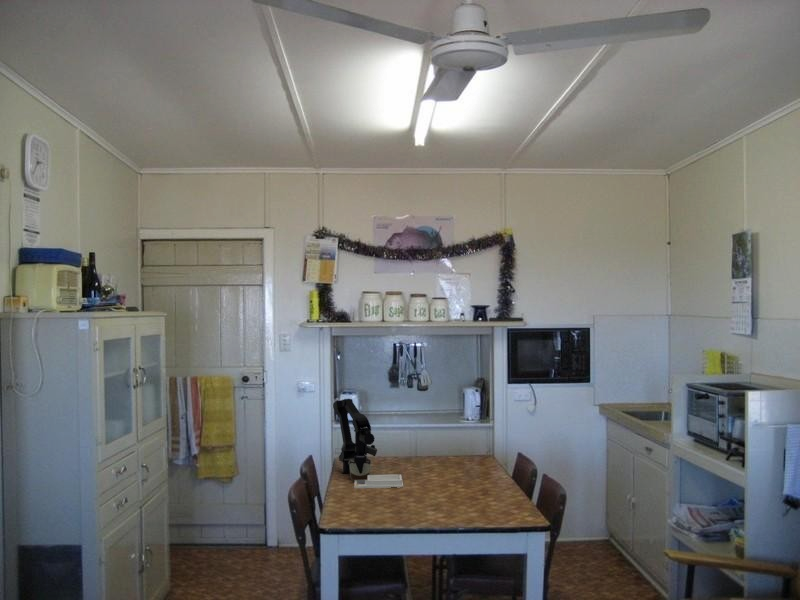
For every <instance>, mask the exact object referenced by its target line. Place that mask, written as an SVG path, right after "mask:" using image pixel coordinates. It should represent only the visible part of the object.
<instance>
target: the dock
mask: <svg viewBox="0 0 800 600" xmlns="http://www.w3.org/2000/svg"><path fill="white" fill-rule="evenodd" d="M403 482H404V481H403V477H402V474H370V475H368V478H367V480H354V483H353V485H354V486H353V489H392V488H391V487H397V488H396V489H398V488H399V489H401V488H400V487H403V488H404V483H403Z"/></svg>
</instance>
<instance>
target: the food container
mask: <svg viewBox="0 0 800 600" xmlns="http://www.w3.org/2000/svg"><path fill="white" fill-rule="evenodd" d="M348 464H349V467H350V473H349V475H350V481H355V480H367V478H368V475H371V465H373V463H372V459H370V458H367V461H366V462H365V463H364V465H363V470H362V473H361V474H360V473H359V470H358V468H357V466H356V463H355V462H354V459H351V460H349V462H348Z"/></svg>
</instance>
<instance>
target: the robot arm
mask: <svg viewBox="0 0 800 600" xmlns="http://www.w3.org/2000/svg"><path fill="white" fill-rule="evenodd" d="M332 406H333V409H334V414H335V415H336V416H337V417H338V420H339V426H340V431H341V432H340V433H341V436H342V437H341V439H342V442H343V444H342V445H341V449H340V450H341V452H340V453H339V455H338V459H339V461H340V462H341V463H342V470H341V474H350V467H349V464H348V462H349V460H351V459H354V462H355V463H356V466H357V468H358V470H359V473H360V474H361V473H362V470H363V465H364V463H365V462H366V461H367V459H368V458H367V457H368V455H371V456H372V457H376V455H377V453H378V449H377V448H376V446H375V444H374V442H375V436H374V434H373V433H372V425H371V423H370V422H369V419H368V417H367V416H366V415H365V414H364V413H361V412H360V411H359V409H358V408H357V406H356V405H355V403H354V401H353V399H352V398H344V399H340V400H334V402H333V404H332ZM348 415H349V416H350V418H351V419H352V420H351V421H352V422H351V423H352V427H353V428H354V430H353V432H354V435H355V436H354V438H355V439H354V442H353V438H352V433H351V426H350V422H349V416H348Z"/></svg>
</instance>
